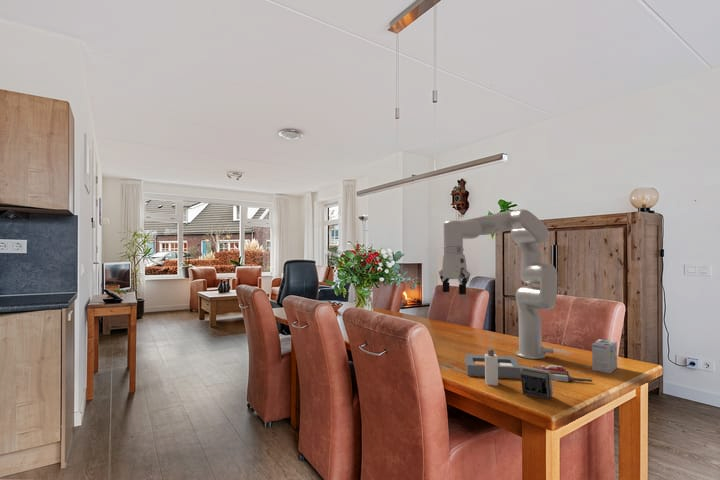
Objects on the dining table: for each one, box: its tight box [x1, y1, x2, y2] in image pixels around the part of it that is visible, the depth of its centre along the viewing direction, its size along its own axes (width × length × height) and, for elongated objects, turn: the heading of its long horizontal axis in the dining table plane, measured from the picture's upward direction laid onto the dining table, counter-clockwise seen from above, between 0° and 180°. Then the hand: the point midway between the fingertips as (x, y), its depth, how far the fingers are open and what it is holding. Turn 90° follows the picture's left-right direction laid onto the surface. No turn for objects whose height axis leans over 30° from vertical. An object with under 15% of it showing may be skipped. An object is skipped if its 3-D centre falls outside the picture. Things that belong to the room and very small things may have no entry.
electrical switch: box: [520, 365, 554, 400], centre depth 125 cm, size 9×5×9 cm, turn 51°
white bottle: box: [484, 349, 499, 386], centre depth 137 cm, size 4×4×12 cm
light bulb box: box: [591, 338, 618, 374], centre depth 153 cm, size 11×7×11 cm, turn 134°
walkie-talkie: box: [532, 364, 593, 383], centre depth 142 cm, size 9×4×20 cm
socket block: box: [464, 353, 522, 380], centre depth 151 cm, size 20×16×4 cm
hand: (454, 293), depth 152 cm, fingers open, 9 cm apart
